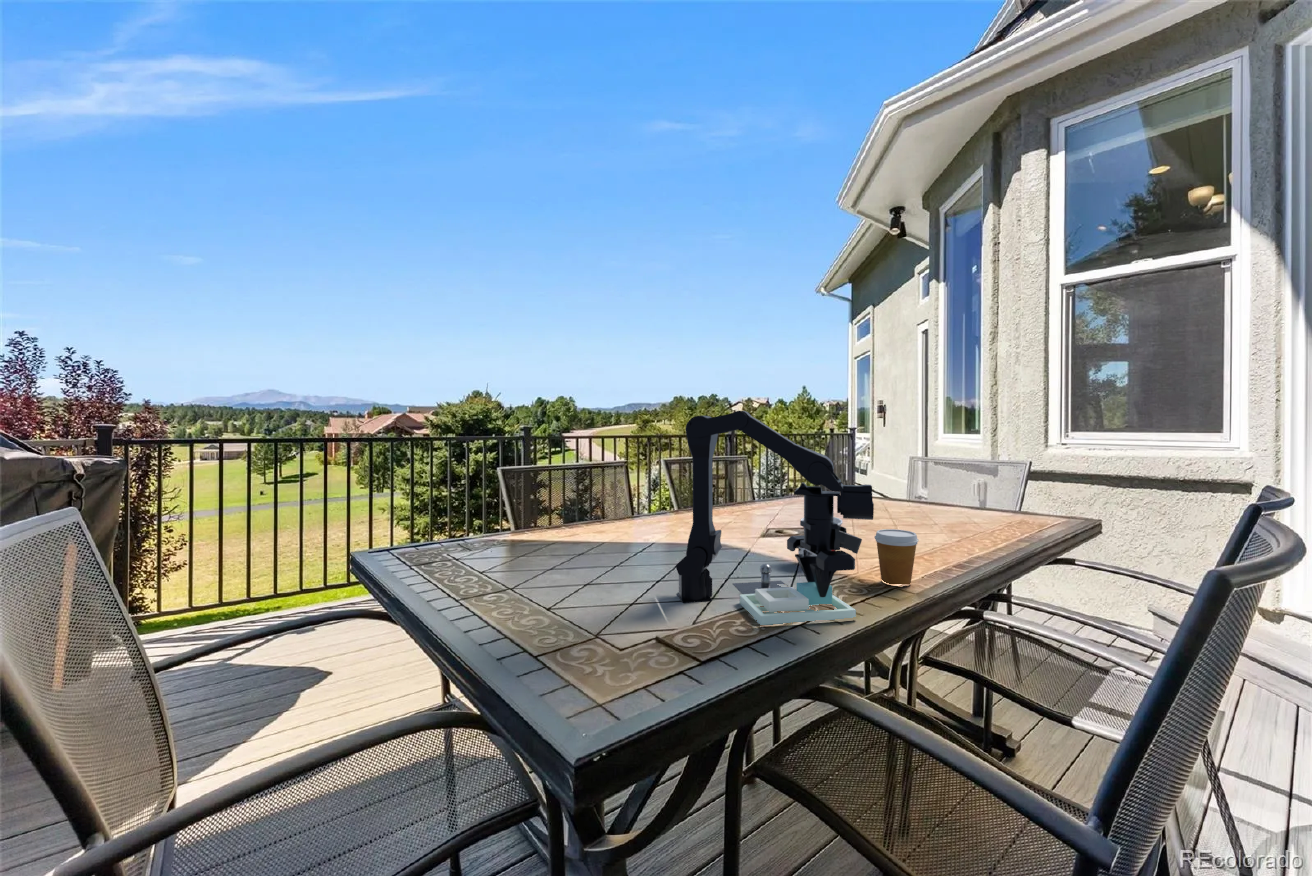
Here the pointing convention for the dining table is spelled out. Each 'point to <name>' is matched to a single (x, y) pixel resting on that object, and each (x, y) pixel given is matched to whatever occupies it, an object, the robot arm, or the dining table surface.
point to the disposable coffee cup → (896, 555)
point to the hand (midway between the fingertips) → (818, 594)
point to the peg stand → (765, 582)
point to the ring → (792, 597)
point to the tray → (809, 615)
